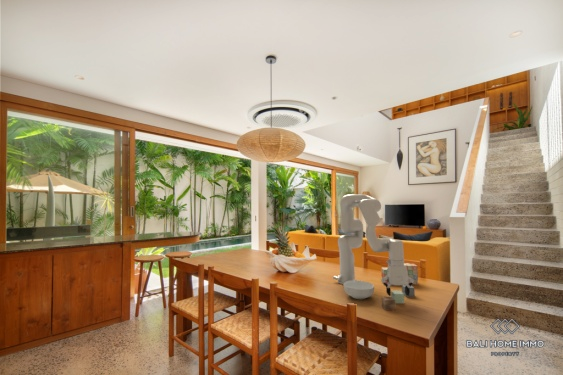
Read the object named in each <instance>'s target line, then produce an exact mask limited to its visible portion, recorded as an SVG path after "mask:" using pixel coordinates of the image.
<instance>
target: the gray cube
mask: <svg viewBox="0 0 563 375" xmlns="http://www.w3.org/2000/svg"><path fill="white" fill-rule="evenodd" d="M405 286H406V285H401V292H402V293H403V294H404V297H407V298H408V297H409V298H410V297H411V298H415V297H416V295H415V294H416V291H415V287H414V286H413V285H411V286H410V288H409V290H410V293H409V296H408V295H406V294H405Z"/></svg>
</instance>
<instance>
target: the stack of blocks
mask: <svg viewBox="0 0 563 375" xmlns="http://www.w3.org/2000/svg"><path fill="white" fill-rule="evenodd" d="M404 265H405V266H406V268H407V273H408V277H410V278H412V279H414V282H413V284H412V285H419V280H418V279H419V277H418V276H419V272H418V271H419V270H418V265H416V264H415V263H408V262H406V263H405V262H404ZM387 269H388V267H381V279H382V278H384V277H386V276H387ZM408 280H409V279H408ZM409 282H410V280H409ZM385 283H386V284H387V280H385Z"/></svg>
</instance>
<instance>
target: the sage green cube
mask: <svg viewBox="0 0 563 375" xmlns="http://www.w3.org/2000/svg"><path fill="white" fill-rule="evenodd" d="M390 297H392V298H393V299H394V300H395V304H405V296H404V294H403V293H402V290H391V296H390Z"/></svg>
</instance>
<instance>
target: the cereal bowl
mask: <svg viewBox="0 0 563 375" xmlns="http://www.w3.org/2000/svg"><path fill="white" fill-rule="evenodd" d="M343 290H344V292H345V293H346V294H347V295H348V296H350V297H351V298H353V299H354V300H355V299H356V300H365V299H366V298H370V297H371V296H373V295H374V291H375V285H374V284H373V283H371V282H369V281H365V280H357V279H355V280H352V281H346V282H344V284H343Z"/></svg>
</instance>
